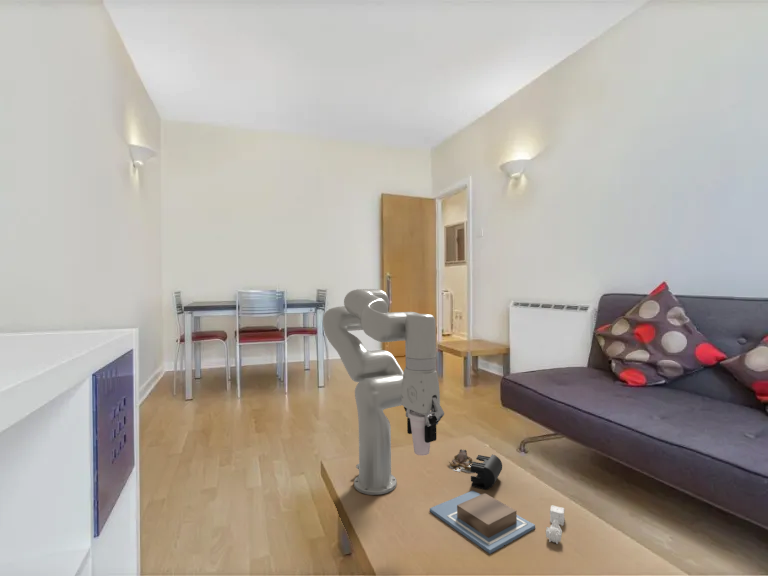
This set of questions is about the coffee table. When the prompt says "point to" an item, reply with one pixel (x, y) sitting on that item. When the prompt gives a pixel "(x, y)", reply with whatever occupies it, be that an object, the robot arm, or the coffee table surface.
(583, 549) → the coffee table surface
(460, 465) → the frog figurine
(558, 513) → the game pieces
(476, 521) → the plinth
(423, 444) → the smoothie
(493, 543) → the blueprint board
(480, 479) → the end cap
